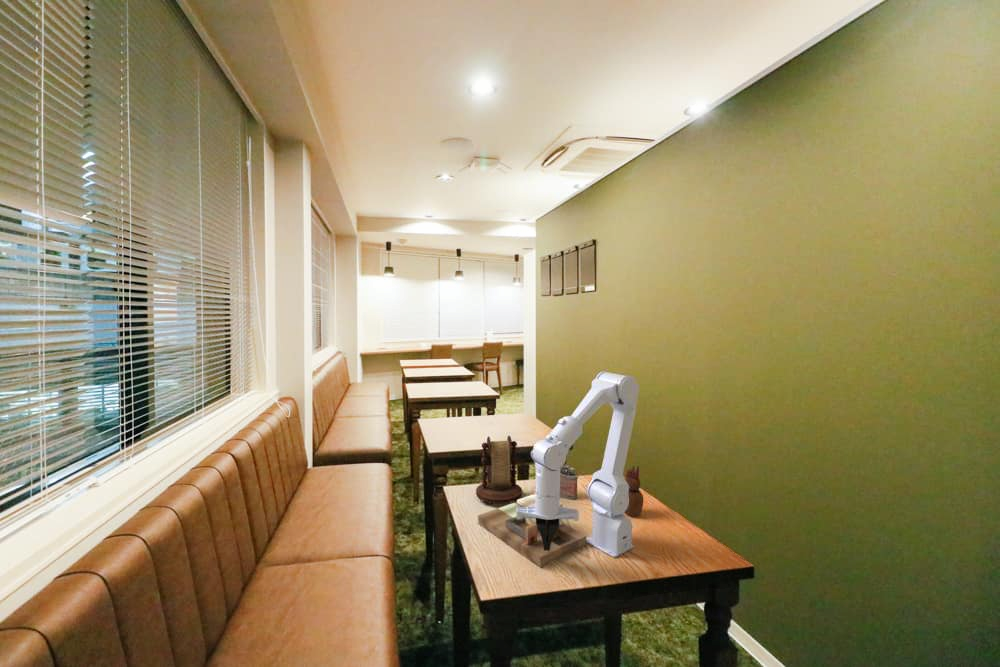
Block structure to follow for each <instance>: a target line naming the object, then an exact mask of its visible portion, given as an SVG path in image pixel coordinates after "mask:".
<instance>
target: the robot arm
mask: <svg viewBox="0 0 1000 667" xmlns="http://www.w3.org/2000/svg"><path fill="white" fill-rule="evenodd" d="M639 392H640V386H639V384H638V382H637V381H636V379H635V377H633V376H631V375H623V374H618V373H613V372H608V371H605V370H603V371H601V372H598V374H597V376H596V377H595V378H594V379H593V380H592V381H591V388H590V389H589V391H588V392H587V394H585V396H584V398H583V399H582V400H581V402H580V403H579V404H578V406H577V407H576V408H575V409H574V411H573V412H572V414H571V415H569V416H568V415H567V416H563V417H562V418H560V419H559V420H558V421H557V424H556V425H555V426H554V428H553V429H552V430H551V431H550V432H549V433H548V434H547V435H546V436H545V438H544V439H541V440H538V441H537V442H536V443H535V444H534V446H533V448H532V450H531V451H530V457H531V459H532V460H533V462H534V468H535V486H534V488H535V493H534V494H535V506H530V507H523V508H516V519H521V518H536V525H537V528H538V530H539V532H540V534H541V537H542V541H543V548H544V550H547V551H549V550H550V546H551V542H552V539H553V537H554V535H555V533H556V531H557V529H558V527H559V519H562V520H573V521H575V522H579V519H580V518H579V514H580V513H579V510H578V509H577V508H569V507H564V506H563V507H559V505H560V503H561V501H560V500H561V499H560V498H561V497H560V467H561V466H562V465H564V466H565V463H566V460H567V455H568V453H569V449H570V448H571V447H572V446H573V445H574V444H575V443H576V441H577V440H578V439H579V437H580V436H582V434H583V425H584V424H585V423H586V422H587V421H588V420H589V419H590V418H591V417H592V416H593V415H594V414H595V413H596V412H597V411H598V410H599V409H600V407H601V406H603V405H604V404H609V406H611V409H612V410H613V413H612V417H611V421H610V427H609V432H608V435H607V440H606V445H605V449H604V450H605V451H604V453H603V454H604V455H603V460H602V464H601V469H599V470H596V471H595V472H594V473H593V474H592V478H591V481H590V482H589V484H588V485H587V489H586V495H587V498H588V499H589V501H590V502H591V503H590V504H591V506H592V535H591V536H588V537H586V544H587V543H588V544H590V545H591V546H593V548H596V549H598V550H600V551H602V552H603V553H605V554H607V555H609V556H610V557H612V558H616V557H618V556H620V555H622V554H624V553H625V552H627V551H629V550H631V549H633V548H634V545H633V543H632V540H633V537H632V536H633V523H632V521H631V519H630V518H629V517H628V516H626V514H625V513H624V512H625V511H626V509H627V507H628V504H629V495H628V492H629V485H628V483H627V482H626V480H625V476H624V470H625V466H626V461H627V456H628V451H629V446H630V442H631V437H632V432H633V428H634V422H635V418H636V412H637V405H638V404H637V402H638V397H639ZM546 520H547V521H546ZM546 537H547V538H546Z"/></svg>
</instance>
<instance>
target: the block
mask: <svg viewBox="0 0 1000 667" xmlns="http://www.w3.org/2000/svg"><path fill="white" fill-rule="evenodd" d="M525 523H527V524H529V525H531V524H534V523H536V518H526V520H525Z"/></svg>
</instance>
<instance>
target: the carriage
mask: <svg viewBox="0 0 1000 667" xmlns="http://www.w3.org/2000/svg"><path fill="white" fill-rule="evenodd" d="M525 520H526V518H521V519H516V517H514V518H511V519H509V520H506V521H505V526H506V527H507V528H509V529H510V530H512V531H513V532H515V533H516V534H518V535H519V536H521V537H522V538H524V539H525V543H527V544H530V543H532V542H535V541H537V530H538V528H537V525H536V523H534V524H531V525H529V526H526V527H524V528H521V527H519V526H518V525H516V524H518V523H520V522H523V521H525ZM546 521H547V520H546Z"/></svg>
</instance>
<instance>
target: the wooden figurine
mask: <svg viewBox="0 0 1000 667" xmlns="http://www.w3.org/2000/svg"><path fill="white" fill-rule="evenodd" d="M639 473H640V466H639V465H637V467H636V469H635V466H634V465H633V466H632V468H629V470H626V475H625V476H624V478H625V480H626V482H627V483H628V485H629V492H628V495H629V504H628V507H627V509H626V511H625V512H624V515H627V516H629V517H631V518H632V517H638V516H640V515H641V513H642V511H643V507H644V495H643V493H642V492H641V490H640V487H641V479H640V478H639V476H640V474H639Z"/></svg>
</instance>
